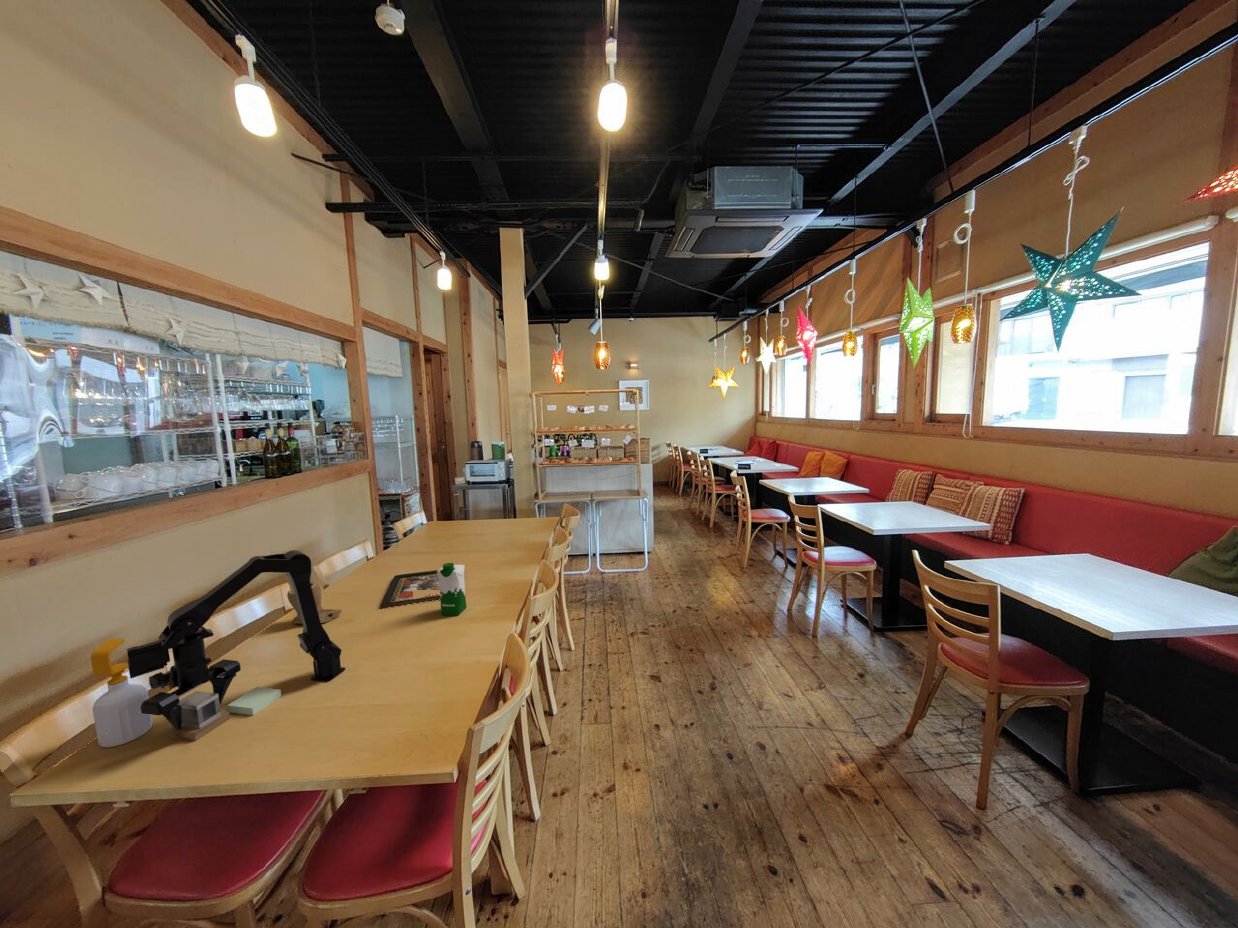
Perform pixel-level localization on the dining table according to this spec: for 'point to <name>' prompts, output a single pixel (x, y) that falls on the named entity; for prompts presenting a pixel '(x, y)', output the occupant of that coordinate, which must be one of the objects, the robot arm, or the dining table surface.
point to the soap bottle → (118, 701)
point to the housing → (199, 709)
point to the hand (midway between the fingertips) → (199, 716)
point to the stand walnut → (198, 733)
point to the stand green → (254, 701)
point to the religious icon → (410, 588)
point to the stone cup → (324, 614)
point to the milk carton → (452, 589)
